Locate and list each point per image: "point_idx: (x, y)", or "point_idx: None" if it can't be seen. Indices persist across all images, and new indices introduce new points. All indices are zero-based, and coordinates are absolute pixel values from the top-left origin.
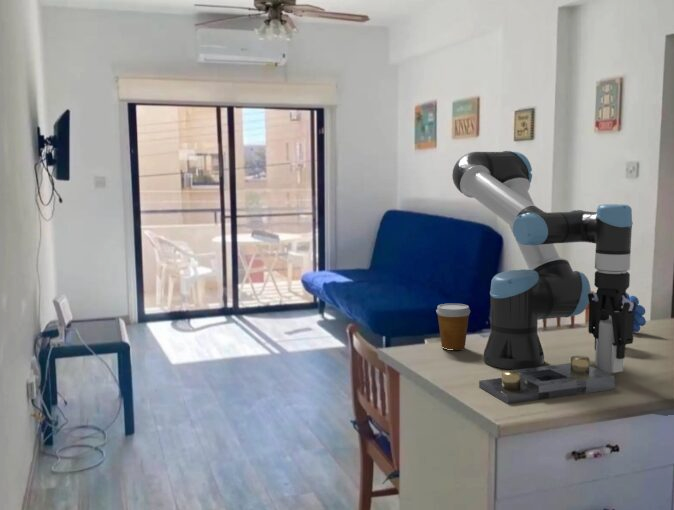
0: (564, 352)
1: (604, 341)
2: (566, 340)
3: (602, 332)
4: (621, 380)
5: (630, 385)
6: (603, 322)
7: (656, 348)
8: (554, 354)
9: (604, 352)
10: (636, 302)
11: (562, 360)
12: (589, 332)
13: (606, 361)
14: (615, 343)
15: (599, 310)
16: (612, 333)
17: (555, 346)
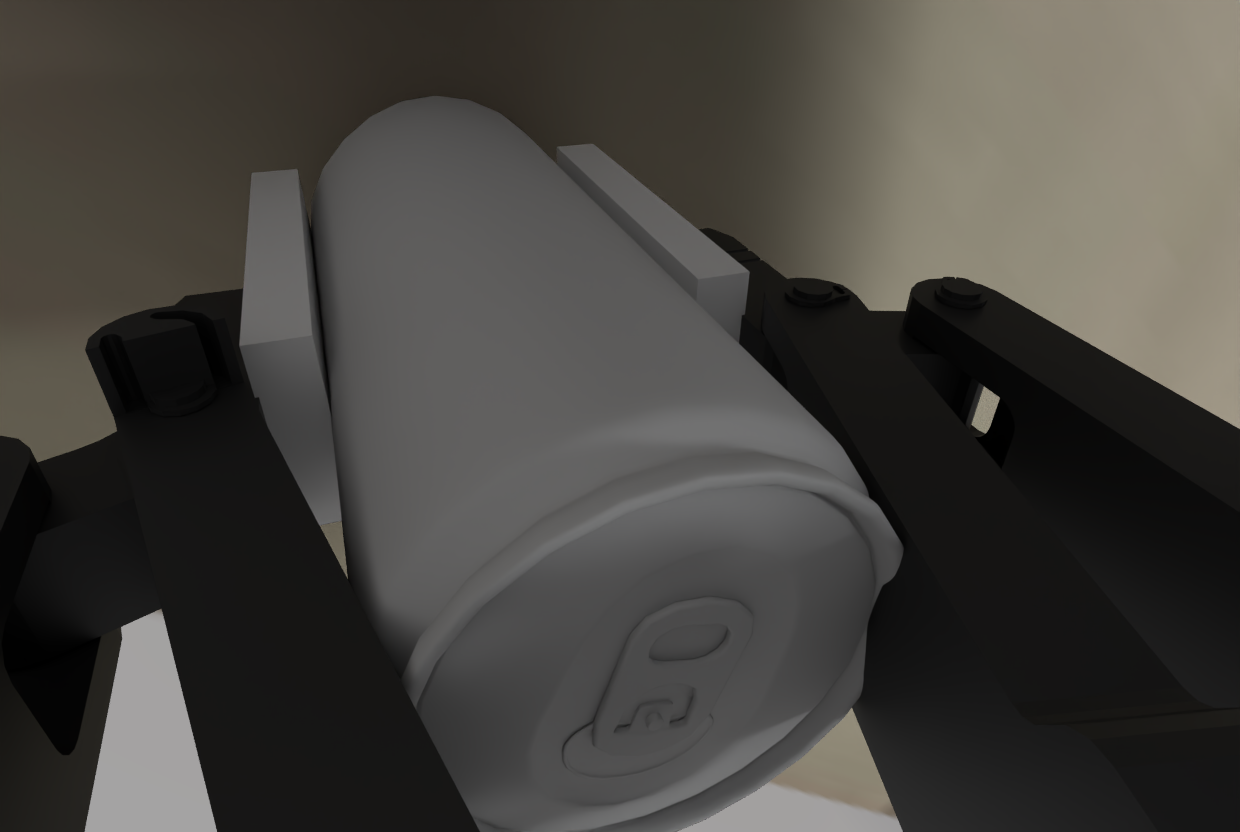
0: (1106, 236)
1: (442, 258)
2: (1218, 398)
3: (550, 322)
4: (235, 236)
5: (6, 222)
6: (701, 520)
7: (827, 749)
8: (1133, 120)
9: (405, 189)
10: None
11: (1000, 72)
12: (949, 282)
13: (359, 168)
14: (93, 343)
15: (1181, 771)
16: (358, 482)
17: (1217, 259)
